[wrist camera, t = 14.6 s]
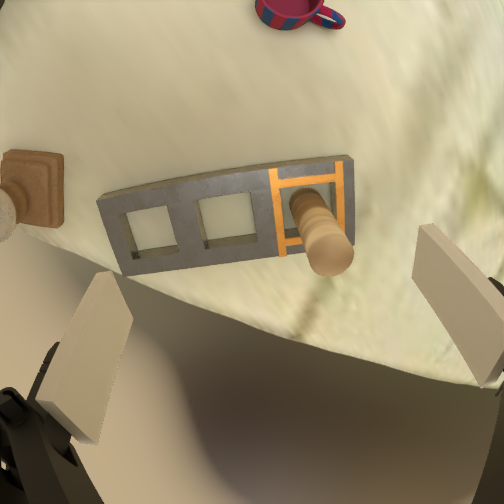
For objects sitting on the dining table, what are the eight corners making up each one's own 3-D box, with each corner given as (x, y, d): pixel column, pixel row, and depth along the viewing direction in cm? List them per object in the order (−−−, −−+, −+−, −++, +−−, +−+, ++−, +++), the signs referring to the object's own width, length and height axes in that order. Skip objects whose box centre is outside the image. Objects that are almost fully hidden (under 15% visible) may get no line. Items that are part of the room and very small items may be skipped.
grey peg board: (103, 194, 40) (95, 201, 38) (347, 155, 38) (354, 160, 36) (128, 267, 46) (122, 277, 43) (349, 236, 44) (355, 246, 42)
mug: (274, -26, 26) (281, -45, 21) (343, 18, 29) (362, 7, 23) (244, 12, 29) (244, -3, 23) (315, 55, 32) (329, 50, 26)
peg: (287, 189, 41) (308, 239, 29) (320, 185, 41) (354, 233, 28) (290, 220, 43) (310, 279, 31) (322, 216, 43) (353, 273, 31)
